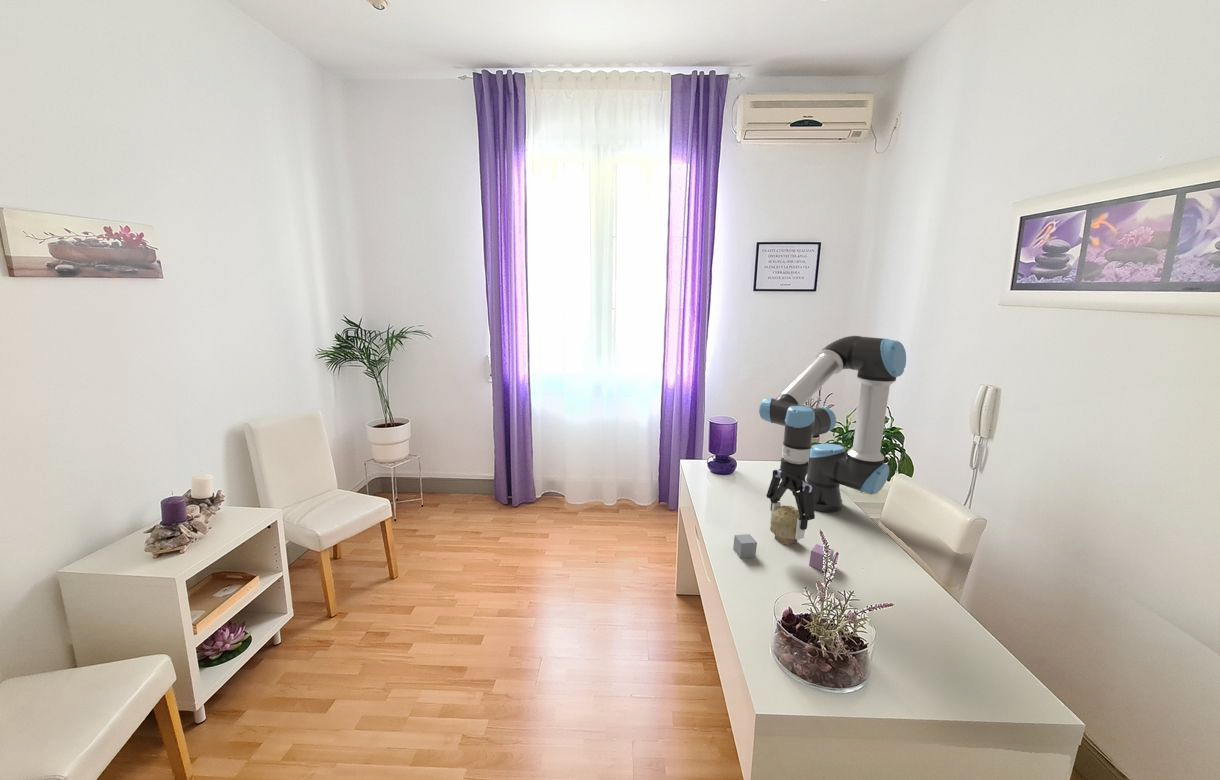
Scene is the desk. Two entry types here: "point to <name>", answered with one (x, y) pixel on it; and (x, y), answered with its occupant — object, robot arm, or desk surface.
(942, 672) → the desk surface
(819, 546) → the plum cube
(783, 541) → the walnut cube
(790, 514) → the decorative object
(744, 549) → the slate cube
